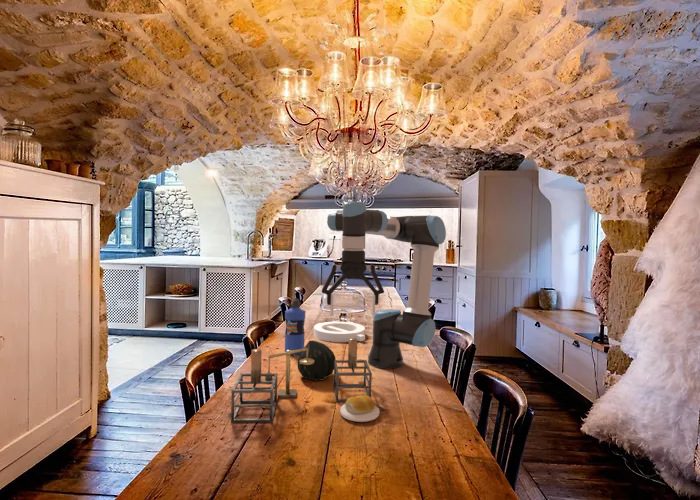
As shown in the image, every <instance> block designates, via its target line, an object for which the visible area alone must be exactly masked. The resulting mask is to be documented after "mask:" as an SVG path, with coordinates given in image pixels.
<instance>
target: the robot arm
mask: <svg viewBox="0 0 700 500" xmlns="http://www.w3.org/2000/svg"><path fill="white" fill-rule="evenodd" d="M326 224H327V226H328V228H329V230H331V231H333V232H342V235H341V236H342V237H341V238H342V241H341V248H342V249H343V250H342V251H341V264H340V265H339V264H335V263H333V264H332V266H331V271H330V273H329V275H328V277H327V279H326V280H325V283H324V285H323V286H322V288H321V293H322V294H325V295H326V304H327V306H330V308H329V309H330V313H329V314H330V316H332V317H333V316H334V294H333V293H334V292H335V290H336V289H337V288H338V287H339V286H340V285H341V284H342V282H343V281H345V279H346V278H347V279H348V280H349V279H350V280H351V279H357V280H358V279H360V278H361V279H362V280H363V282H364V283H365V284H366V285H367V287H368V288H369V289H370V291H372V293H373V294H371V306H370V307H371V310H370V311H371V312H370V314H371V316H373V319H372V325H373V327H372V345H371V349H370V351H369V354H368V358H367V363H368V365H370V366H371V367H375V368H381V369H396V368H397V369H398V368H401V367H402V366H403V365H404V357H403V354H402V353H403V352H402V350H401V347H400V344H406V345H409V346H410V345H411V346H412V347H420V348H425V347H427V346H429V344H430V343H431V342H432V341H433V339H434V336H435V333H436V322H435V320H434V319H432V313H431V312H430V311H429V305H430V295H431V287H432V279H433V277H432V276H433V267H434V261H435V253H436V252H437V251H438V250H439V248H440V245H443V244H444V243H445V240H446V236H447V231H446V225H445V223H444V220H443V219H442V218H441V217H440V216H438V215H430V214H428V215H403V216H388V215H387V213H386V212H385V211H382V210H378V209H367V204H366V202H364V201H347V202H344V203H343V205H342V210H339V209H338V210H333V211H331V212H329V214H328V215H327V219H326ZM366 235H373V236H374V235H375V236H381V237H382V236H383V238H386V239H387V240H394V241H397V242H404V243H410V247H411V248H412V250H413V254H412V255H413V256H412V260H411V261H412V263H411V271H410V278H409V279H410V280H409V287H408V297H407V306H406V307H405V308H404V309H403V310H402V311H401V309H398V308H395V309H391V308H389V309H387V308H386V309H380V310H376V306H378V305H379V295H380V294H384V293H385V290H384V287H383V286H382V283H381V281H380V280H379V277H378V275H377V273H376V267H375V265H374V264H370V265H366V251H365V249H366ZM339 270H341V272H342V274H340V276H339V277H338V278H337V279H336V281H335V282H334V283H333V284H332V285H331V286H330V284H331V282H332V281H333V279H334V276H335V274H336V273H337V272H338V271H339ZM366 270H368V272H370V274H371V277H372V278H373V281H374V283H375V285H376V287H377V289H376V287H375V286H374V285H373V284H372V282H370V280H369V279H368V278H367V276H366V275H365V274H364V273H365V272H366ZM329 286H330V287H329Z"/></svg>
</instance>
